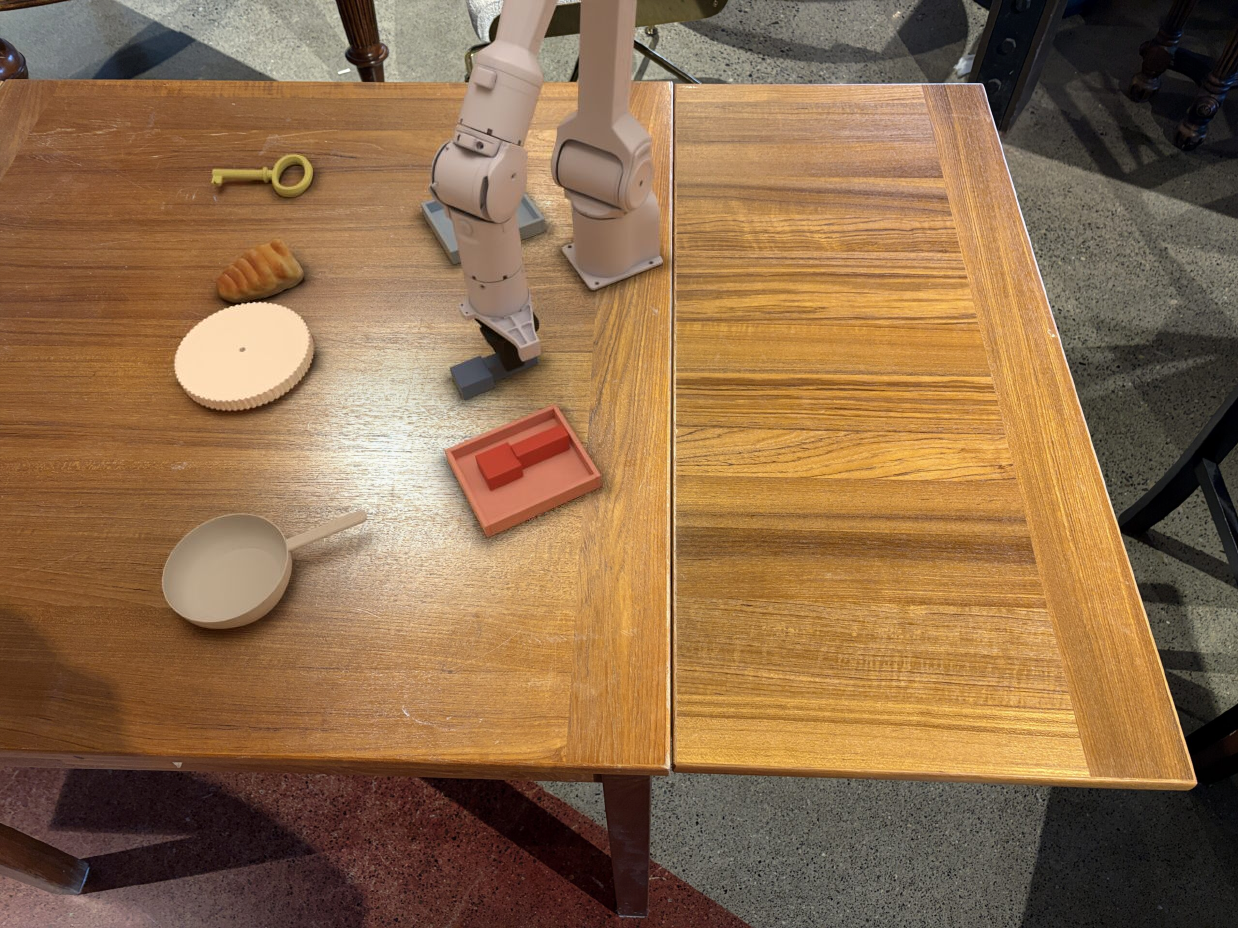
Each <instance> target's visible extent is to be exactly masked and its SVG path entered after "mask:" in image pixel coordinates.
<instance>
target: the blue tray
mask: <svg viewBox="0 0 1238 928" xmlns="http://www.w3.org/2000/svg"><path fill="white" fill-rule="evenodd" d="M419 205H420V207H421V211H422V215H423V217H424V219H425V221H426V223H427V224H428V226H429V227H430V229H431V230H432V232H433V234H434V235H435V237H436V239H437V240H438V242H439V244H440V245H441V247H442V249H443V250H444V251H445V253H446V255H447V256H448V258H449V259H450V262H451V263H452V265H456V264H459V263H460V264H461V260H460V255H459V251H458V246H457V241H456V237H455V233H454V228H453V223H452V221H451V219H449V218H447V217H446V215H445V211H444V207H443V206H442V204H440V203H438V202H437V201H435V200H434V199H433V198H432V199H429V200H426V201H423V202H420V204H419ZM516 211H517V218H518V226H519V233H520V239H521V241H523V240H525V239H529V238H532V237H534V236H537V235H540V234H543V233H545V232H547V225H546V218H545V217H544V216H543V215H542V213H541V211H540V210H539V209H538V207H537V206H536V205H535V203H534V202H533V200H532V199H531V198H530V196H529V195H528V194H527V193H526V192H525V193H524V195H523V198H522V200H521V203H520V205H519V207H518V209H517V210H516Z"/></svg>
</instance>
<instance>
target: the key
mask: <svg viewBox="0 0 1238 928" xmlns="http://www.w3.org/2000/svg"><path fill="white" fill-rule="evenodd" d="M295 165H299V166H302V167H303V170H304V176H303V178H302V179H301V181H300V182H298V183H297V184H295V185H293V186H284V185H282V184H280V177H281V176H282V173H283V172H284V170H285V169H286V168H288V167H290V166H295ZM211 175H212V178H211V181H210V185H211V186H212V187H214V186H215V185H216V186H218V187H221V186H222V185H223V182H224V180H247V181H249V180H250V181H252V180H253V181H255V180H256V181H263V182H264V183H265V184H268V183H269V182H270V181H271V184H272V186H273V188H274V190H275V192H276V193H277V194H278V195H279V196H281V197H285V198H294V197H298V196H300V195H302V194H303V193H304V192H305V191H306V190H307V189H308V188H309V186H310V185H311V184H312V183H311V182H312V180H313V176H314V169H313V166H312V164H311V163H310V161H309V160H308V159H307V157H305V156H303V155H301V154H296V153H295V154H294V153H291V154H287V155H284V156H282V157H281V158H280V159H278V160H277V161H276V162H275V164H274V166H273V168H272V169H269V167H267V166H263V167H262V169H235V168H233V169H229V168H228V169H226V168H223V169H222V168H212V169H211Z"/></svg>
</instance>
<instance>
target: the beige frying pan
mask: <svg viewBox="0 0 1238 928" xmlns="http://www.w3.org/2000/svg"><path fill="white" fill-rule="evenodd" d="M367 519H368V514H367V512H366V510H364V509H359V510H356V511H354V512H351V513H348V514H347V515H344V516H341V517H339V518H336V519H334V520H331V521H329V522H326V523H324V524H321V525H319V526H316V527H314V528H311V529H309V530H306V531H303V532H301V533H298V534H296V535H294V536H291V537H288V538H286V537H285V534H283V532H282V530H281V529H280V528H279V527H278V526H277V525H276V524H275V523H274V522H272V521H271V520H269V519H267V518H266V517H263V516H260V515H257V514H251V513H239V512H238V513H229V514H225V515H221V516H217V517H214V518H212V519H210V520H207V521H205V522H202V523H201V524H200V525H198V526H196V527H195V528H193V529H192V530H191V531H189V532H188V533H187V534H185V536H183V538H181V539H180V540H179V542H178V543H176V545H175V546H174V548H173V549H172V550H171V552H170V554H169V556H168V558H167V559H166V562H165V565H164V567H163V572H162V575H161V576H162V577H161V588H162V592H163V596H164V598H165V600H166V602H167V604H168V605H169V606H170V608H172V609H173V611H174V612H175V613H177V614H178V615H179V616H180V617H181V618H184V619H185V620H186V621H188V622H190V623H191V624H194V625H195V626H198V627H200V628H207V629H213V630H215V629H216V630H217V629H219V630H220V629H221V630H225V629H233V628H237V627H243V626H247V625H249V624H252V623H254V622H256V621H258V620H260V619H261V618H263V617H264V616H266V615H267V614H268V613H269V612H270V611H272V610H273V609H274V607H275V606H276V605H277V604H278V603H279V601H280V600H281V599H282V597H283V595H284V593H285V591H286V590H287V587H288V585H289V582H290V579H291V575H292V571H293V557H292V553H291V552H293V551H295V550H298V549H300V548H303V547H306V546H308V545H310V544H313V543H315V542H318V541H321V540H322V539H323V540H324V539H325V538H328V537H330V536H333V535H336V534H338V533H341V532H343V531H345V530H348V529H350V528H353V527H356V526H358V525H361V524H363V523H365V522H366V521H367Z"/></svg>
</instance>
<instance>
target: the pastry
mask: <svg viewBox="0 0 1238 928" xmlns="http://www.w3.org/2000/svg"><path fill="white" fill-rule="evenodd" d="M304 274H305V273H304V270H303V268H302V266H301V265H300V263H299V262H298V261H297V260H296V258H295V257H294V256H293V254H292V252H291V250H290V249H289V247H288V246H287V244H286V243H285V242H284V241H283V240H282V239H279V238H273V239H272V240H271V241H270V242H267V243H264V244H262V245H257V246H255V247H254V248H250V249H248V250H245V251H244V252H243V254H242V255H241V256H240V257H239V258H238V259H236V261H235V262H233V264H229V266H227V268H226V269H225V270H223V271H222V273H221V275H220V276H218V278H217V281H216V290H217V293H218V295H219V296H220V298H222V299H224V300H226V301H228V302H231V303H241V304H243V303H245V302H247V303H250V302H251V301H253V300H262V299H266V298H269V297H271V296H275V295H276V294H280V293H282V292H283V291H285V290H286V289H291V288H294V287H295V286H297V285H298V284H299V283H301V281H302V280H303V278H304Z"/></svg>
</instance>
